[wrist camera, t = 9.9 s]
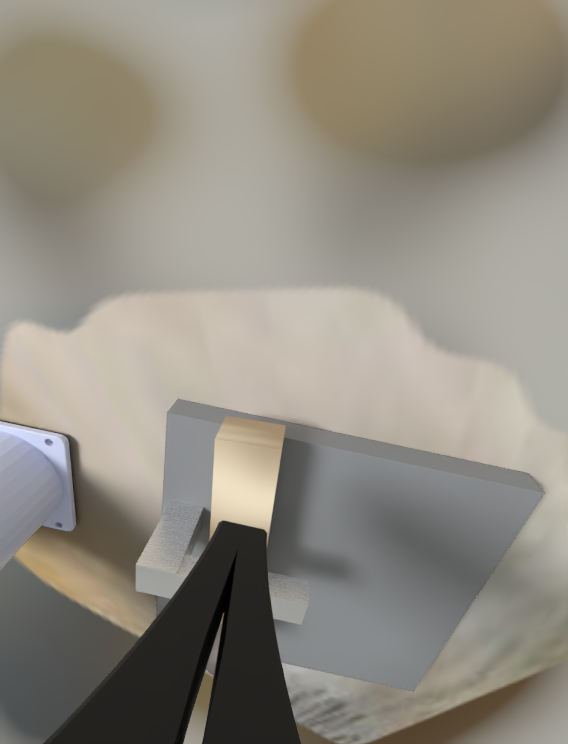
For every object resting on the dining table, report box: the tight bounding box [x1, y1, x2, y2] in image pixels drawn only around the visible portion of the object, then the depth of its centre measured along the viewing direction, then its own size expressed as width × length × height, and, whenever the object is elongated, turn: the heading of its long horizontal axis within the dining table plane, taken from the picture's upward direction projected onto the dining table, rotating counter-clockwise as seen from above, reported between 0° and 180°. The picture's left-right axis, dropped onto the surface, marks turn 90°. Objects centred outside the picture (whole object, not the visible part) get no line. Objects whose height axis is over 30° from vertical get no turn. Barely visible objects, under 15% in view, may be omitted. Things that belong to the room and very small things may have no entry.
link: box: [206, 416, 286, 675], centre depth 18 cm, size 16×4×4 cm, turn 173°
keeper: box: [136, 500, 309, 625], centre depth 18 cm, size 8×2×4 cm, turn 79°
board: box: [157, 399, 545, 691], centre depth 22 cm, size 20×20×2 cm
